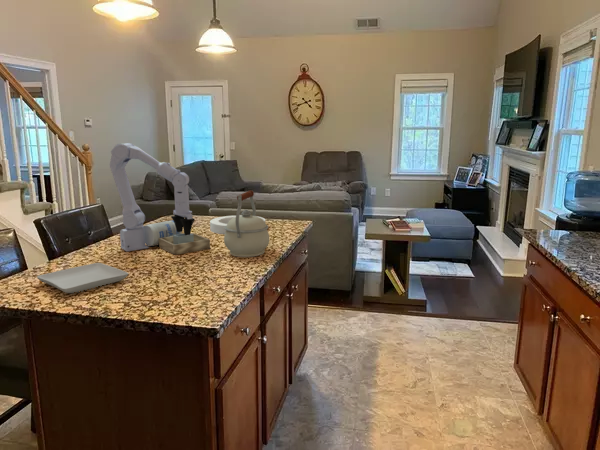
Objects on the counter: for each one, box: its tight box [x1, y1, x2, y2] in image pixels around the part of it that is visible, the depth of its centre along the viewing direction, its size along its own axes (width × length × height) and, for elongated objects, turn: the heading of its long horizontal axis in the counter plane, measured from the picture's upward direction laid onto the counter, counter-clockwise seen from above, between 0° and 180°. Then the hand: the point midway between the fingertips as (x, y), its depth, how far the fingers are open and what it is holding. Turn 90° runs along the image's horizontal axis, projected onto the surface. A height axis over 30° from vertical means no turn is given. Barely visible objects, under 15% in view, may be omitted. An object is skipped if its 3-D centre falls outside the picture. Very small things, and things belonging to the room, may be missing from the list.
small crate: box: [173, 232, 194, 245], centre depth 189 cm, size 7×5×5 cm
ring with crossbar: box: [209, 214, 266, 235], centre depth 228 cm, size 28×28×5 cm
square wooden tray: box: [158, 232, 211, 256], centre depth 190 cm, size 16×16×4 cm
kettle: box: [223, 190, 270, 258], centre depth 181 cm, size 25×18×25 cm
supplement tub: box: [144, 219, 183, 247], centre depth 197 cm, size 10×10×15 cm
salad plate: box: [36, 262, 129, 294], centre depth 146 cm, size 21×21×3 cm
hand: (183, 233), depth 189 cm, fingers open, 7 cm apart
